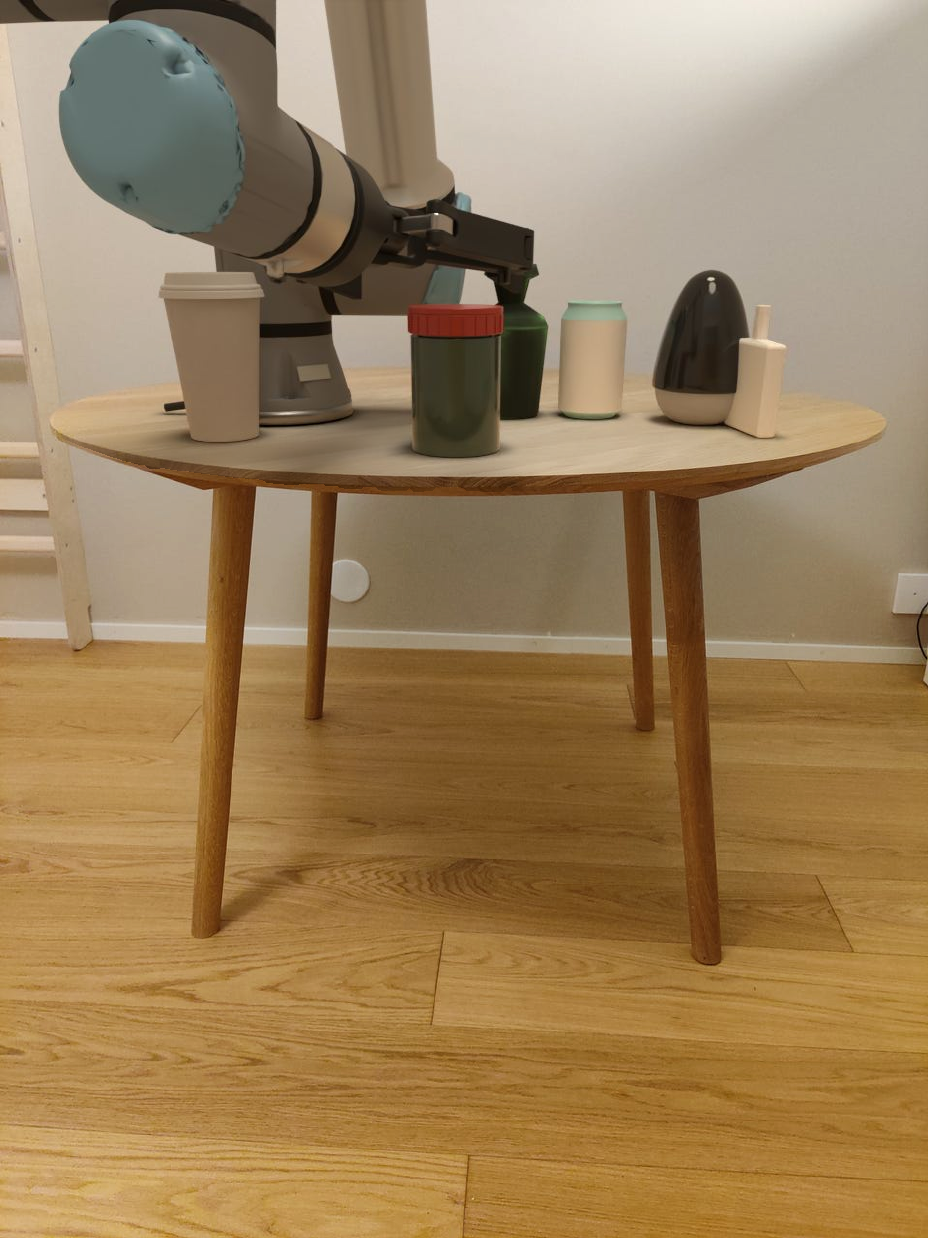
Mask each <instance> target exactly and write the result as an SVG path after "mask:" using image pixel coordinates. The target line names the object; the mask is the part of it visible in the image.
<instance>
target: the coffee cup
mask: <svg viewBox="0 0 928 1238" xmlns="http://www.w3.org/2000/svg"><path fill="white" fill-rule="evenodd" d="M159 288H160V289H159V290H158V298H159V299H163V303H164V307H165V312H166V318H167V322H168V326H169V332H170V338H171V342H172V347H173V352H174V358H175V363H176V368H177V373H178V377H179V382H180V388H181V393H182V398H183V401H184V404H185V409H184V410H185V414H186V419H187V424H188V425H187V426H188V429H189V434H190V439H192V440H194V441H198V442H206V443H233V442H242V441H247V440H251V439H255V438H257V437H259V435H260V425H259V323H260V297H265V296H264V293H263V290H262V289H261V286H260V285H259V284H257V282H256V278H255V275H254V273H253V272H216V271H178V272H177V271H176V272H174V271H173V272H172V271H171V272H165V273H164V279H163V284H161V285H160V287H159Z"/></svg>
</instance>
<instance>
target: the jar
mask: <svg viewBox="0 0 928 1238" xmlns="http://www.w3.org/2000/svg"><path fill="white" fill-rule="evenodd" d="M409 349H410V352H409V353H410V397H411V400H410V401H411V402H410V403H411V404H410V405H411V449H412V451H413V452H415V453H417V454H421V455H424V456H430V457H438V458H473V457H483V456H488V455H492V454H495V453H497V452H498V451H499V450H500V447H501V445H500V443H501V442H500V441H501V439H500V438H501V419H500V386H501V335H499V334H497V335H487V336H424V335H415V334H410V336H409Z"/></svg>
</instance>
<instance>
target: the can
mask: <svg viewBox="0 0 928 1238" xmlns="http://www.w3.org/2000/svg"><path fill="white" fill-rule="evenodd" d="M627 329H628V316H627V315H626V312H625V311H624V309H623V301H620V300H619V301H618V300H568V301H567V308H566V310H565V311H564V312H563V313H562V315H561V317H560V343H559V367H558V368H559V369H558V391H557V392H558V393H557V409H558V411H560V412H561V413H563V414H564V416H565V417H569V418H574V419H582V420H605V419H609V418H613V417H615V415H616V414H618V413H620V412H621V411H622V410H623V398H624V397H623V395H624V381H625V380H624V379H625V364H626V363H625V362H626V348H627V347H626V346H627V334H628V333H627V332H628V330H627Z"/></svg>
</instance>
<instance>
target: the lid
mask: <svg viewBox="0 0 928 1238" xmlns="http://www.w3.org/2000/svg"><path fill="white" fill-rule="evenodd" d="M408 312H409V313H408V314H407V316H406V317H407V332H408V334H410V335H412V334H415V335H424V336H487V335H497V334H501V333H503V332H504V314H503V306H499V305H495V304H483V303H482V304H481V303H480V304H478V303H459V304H427V305H412V306H408Z"/></svg>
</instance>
